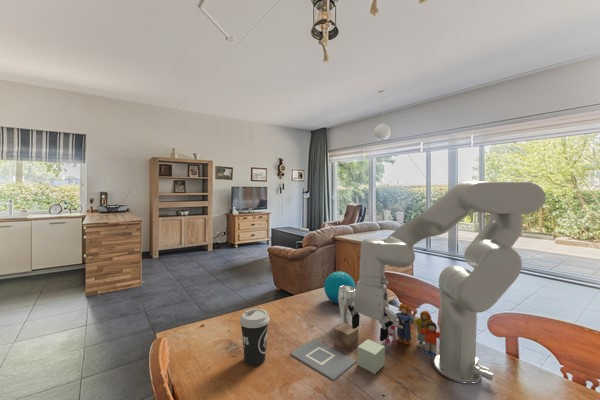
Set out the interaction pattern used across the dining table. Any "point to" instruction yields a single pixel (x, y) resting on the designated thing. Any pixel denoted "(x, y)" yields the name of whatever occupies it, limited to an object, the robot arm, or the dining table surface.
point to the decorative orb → (337, 284)
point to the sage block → (371, 356)
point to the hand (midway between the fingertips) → (368, 333)
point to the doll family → (424, 330)
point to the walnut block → (346, 337)
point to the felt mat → (323, 359)
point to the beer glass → (345, 303)
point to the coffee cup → (254, 335)
